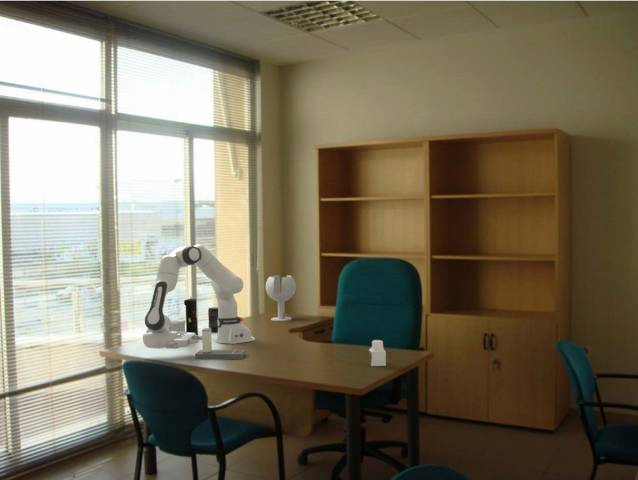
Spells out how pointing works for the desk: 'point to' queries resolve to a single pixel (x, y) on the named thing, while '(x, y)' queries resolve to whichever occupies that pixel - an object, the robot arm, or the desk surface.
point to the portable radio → (191, 316)
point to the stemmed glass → (281, 293)
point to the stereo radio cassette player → (177, 324)
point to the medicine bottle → (377, 353)
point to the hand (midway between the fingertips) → (200, 339)
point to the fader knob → (206, 340)
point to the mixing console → (220, 354)
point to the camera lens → (213, 318)
